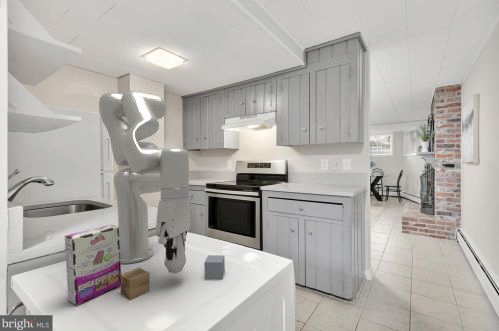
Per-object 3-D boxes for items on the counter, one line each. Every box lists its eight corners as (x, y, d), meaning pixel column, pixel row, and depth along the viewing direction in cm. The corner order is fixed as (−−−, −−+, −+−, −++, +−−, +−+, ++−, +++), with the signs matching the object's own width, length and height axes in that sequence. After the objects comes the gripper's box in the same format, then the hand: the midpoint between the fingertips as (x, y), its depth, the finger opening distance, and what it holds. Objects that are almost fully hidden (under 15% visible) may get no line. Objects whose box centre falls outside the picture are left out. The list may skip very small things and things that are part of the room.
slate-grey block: (204, 279, 69) (204, 262, 69) (208, 271, 74) (208, 255, 74) (222, 279, 68) (221, 262, 68) (224, 271, 73) (224, 255, 73)
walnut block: (121, 294, 62) (120, 274, 62) (139, 285, 66) (139, 267, 66) (130, 300, 59) (130, 280, 59) (149, 291, 63) (149, 272, 63)
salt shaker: (179, 276, 64) (179, 227, 63) (160, 273, 65) (159, 226, 64) (189, 266, 69) (189, 221, 69) (171, 264, 71) (171, 220, 70)
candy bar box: (112, 281, 69) (110, 224, 68) (122, 285, 66) (120, 226, 66) (66, 301, 59) (63, 234, 59) (75, 307, 57) (73, 238, 56)
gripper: (180, 188, 75) (180, 246, 76) (142, 197, 60) (143, 270, 60) (201, 190, 73) (201, 249, 74) (168, 199, 57) (169, 274, 58)
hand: (175, 258), depth 67 cm, fingers closed on salt shaker, 3 cm apart
